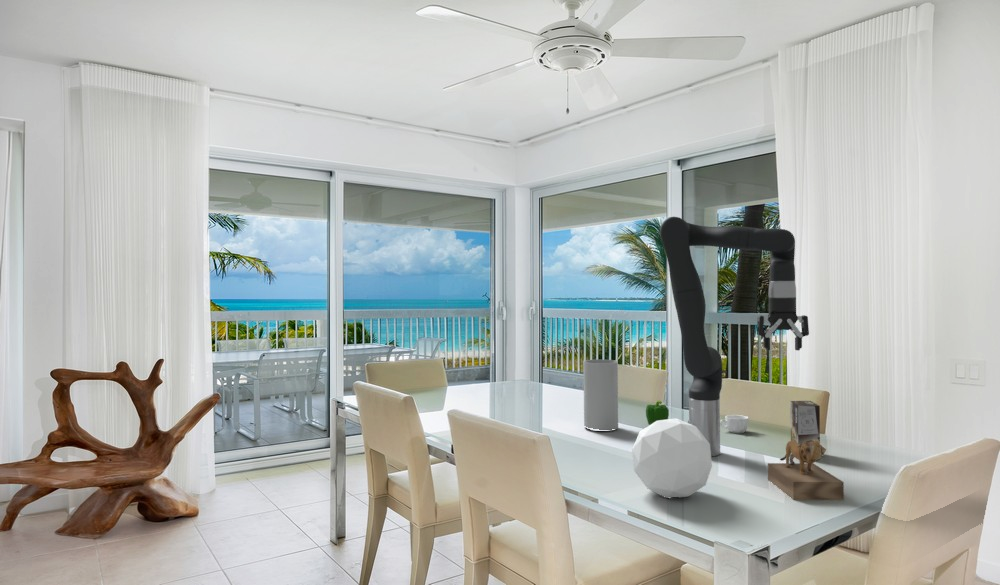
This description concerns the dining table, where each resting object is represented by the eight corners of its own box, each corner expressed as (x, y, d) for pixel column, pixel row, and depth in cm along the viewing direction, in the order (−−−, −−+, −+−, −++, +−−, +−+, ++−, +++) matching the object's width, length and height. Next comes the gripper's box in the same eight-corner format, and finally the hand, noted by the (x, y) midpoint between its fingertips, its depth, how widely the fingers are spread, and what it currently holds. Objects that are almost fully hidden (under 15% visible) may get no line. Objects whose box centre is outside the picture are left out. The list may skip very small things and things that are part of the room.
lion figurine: (829, 476, 156) (829, 440, 156) (812, 478, 154) (811, 442, 154) (787, 461, 170) (787, 428, 170) (771, 462, 168) (770, 429, 168)
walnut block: (793, 502, 152) (793, 481, 152) (767, 481, 168) (767, 463, 168) (843, 502, 152) (843, 481, 152) (813, 481, 168) (813, 463, 168)
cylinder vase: (621, 432, 225) (620, 363, 225) (586, 432, 225) (585, 363, 225) (615, 424, 237) (614, 359, 237) (582, 425, 238) (581, 359, 237)
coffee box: (821, 459, 187) (820, 405, 187) (797, 458, 188) (797, 405, 188) (812, 451, 196) (811, 400, 196) (790, 450, 197) (789, 399, 197)
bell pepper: (645, 423, 238) (644, 397, 238) (667, 424, 237) (666, 398, 237) (647, 428, 230) (646, 401, 230) (670, 429, 229) (669, 402, 229)
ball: (675, 529, 152) (654, 477, 142) (629, 479, 169) (608, 429, 159) (736, 486, 155) (720, 432, 145) (685, 441, 172) (668, 390, 162)
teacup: (744, 429, 227) (743, 414, 227) (752, 434, 219) (751, 419, 219) (716, 429, 227) (716, 414, 227) (723, 434, 220) (723, 419, 220)
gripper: (761, 296, 184) (761, 351, 185) (811, 296, 183) (812, 351, 183) (754, 296, 192) (754, 348, 192) (802, 295, 190) (803, 348, 190)
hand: (782, 350), depth 187 cm, fingers open, 8 cm apart
